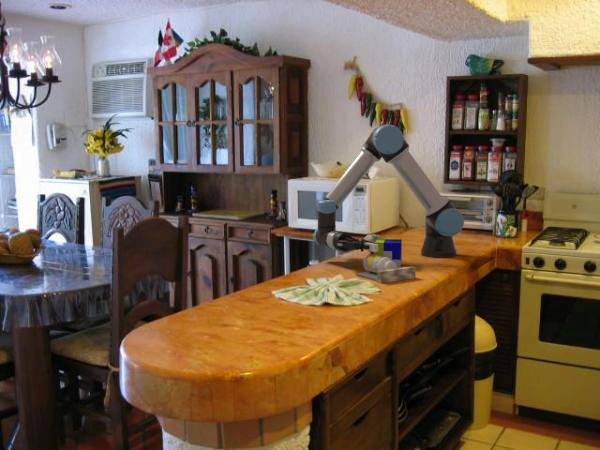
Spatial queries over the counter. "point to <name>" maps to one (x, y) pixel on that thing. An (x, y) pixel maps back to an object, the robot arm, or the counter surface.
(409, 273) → the backstop rail
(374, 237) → the decorative fruit
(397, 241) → the puzzle toy
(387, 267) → the supplement bottle
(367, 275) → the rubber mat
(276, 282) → the counter surface
